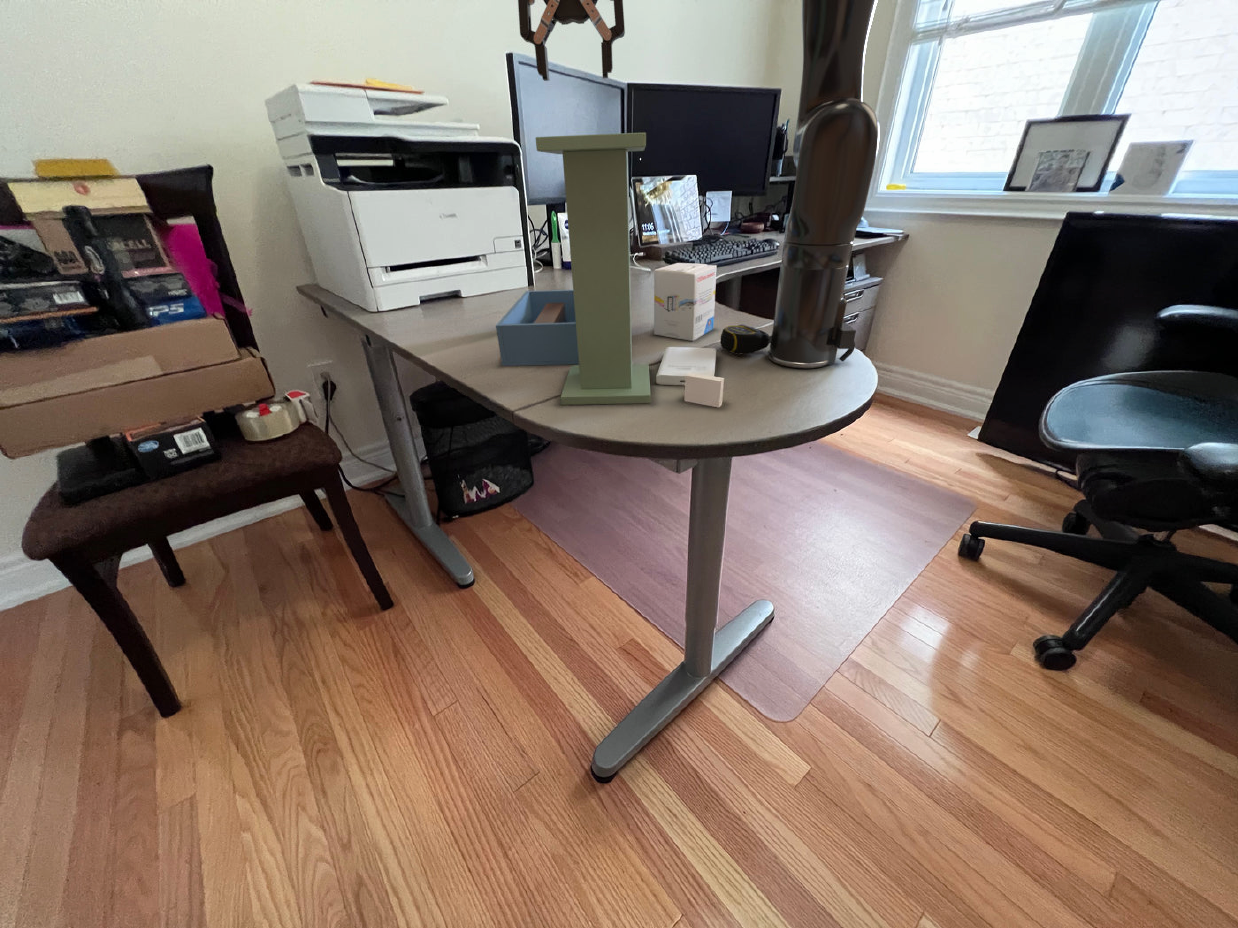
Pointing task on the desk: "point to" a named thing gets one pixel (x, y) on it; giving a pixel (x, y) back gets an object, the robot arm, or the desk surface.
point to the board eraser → (552, 314)
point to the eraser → (704, 389)
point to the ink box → (684, 300)
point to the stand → (600, 267)
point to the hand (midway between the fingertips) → (575, 79)
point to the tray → (538, 332)
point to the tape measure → (743, 339)
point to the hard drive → (685, 364)
